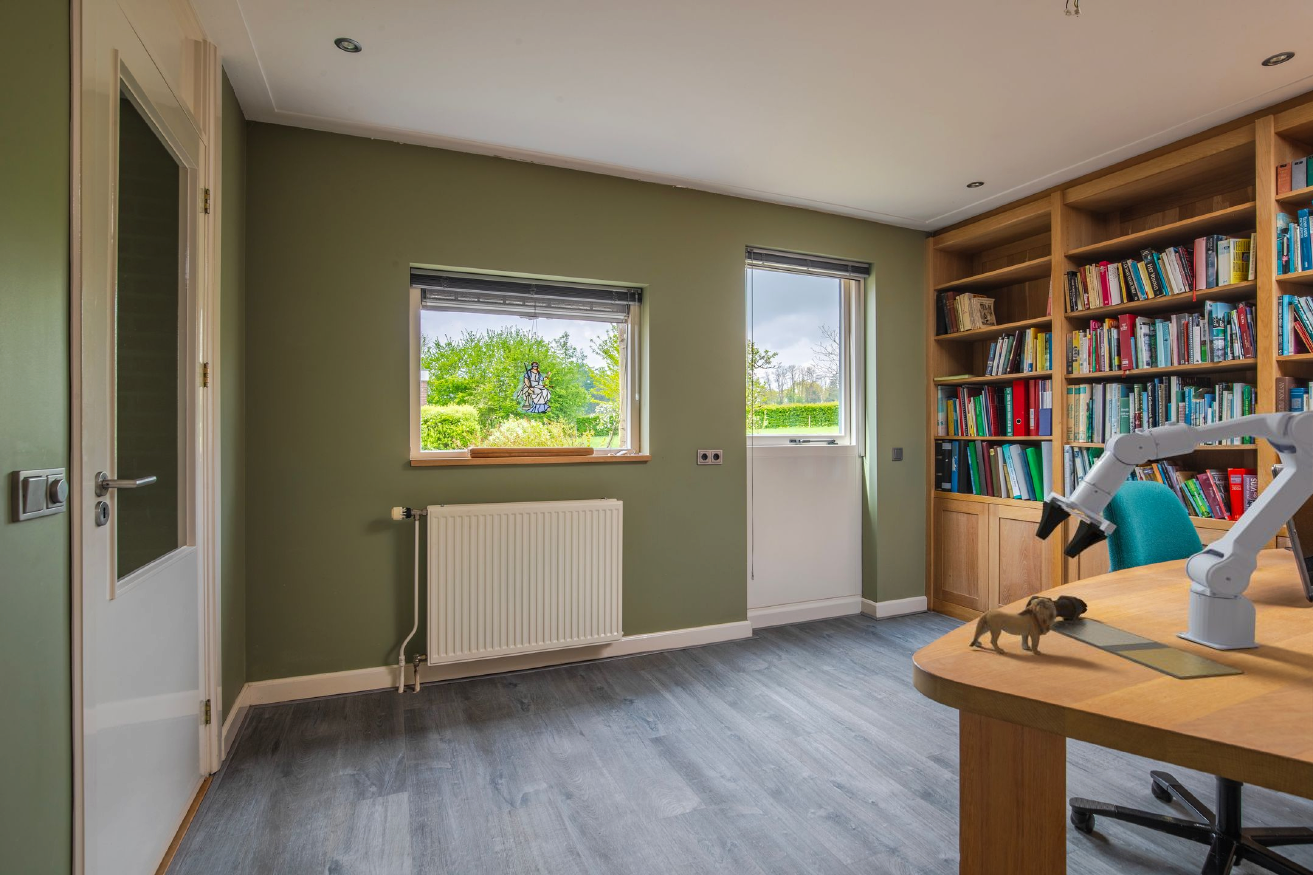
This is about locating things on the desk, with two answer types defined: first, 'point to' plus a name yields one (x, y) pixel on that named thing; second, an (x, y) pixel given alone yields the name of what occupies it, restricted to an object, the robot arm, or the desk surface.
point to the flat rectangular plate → (1141, 649)
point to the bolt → (1065, 606)
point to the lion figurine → (1018, 624)
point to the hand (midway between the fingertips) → (1053, 546)
